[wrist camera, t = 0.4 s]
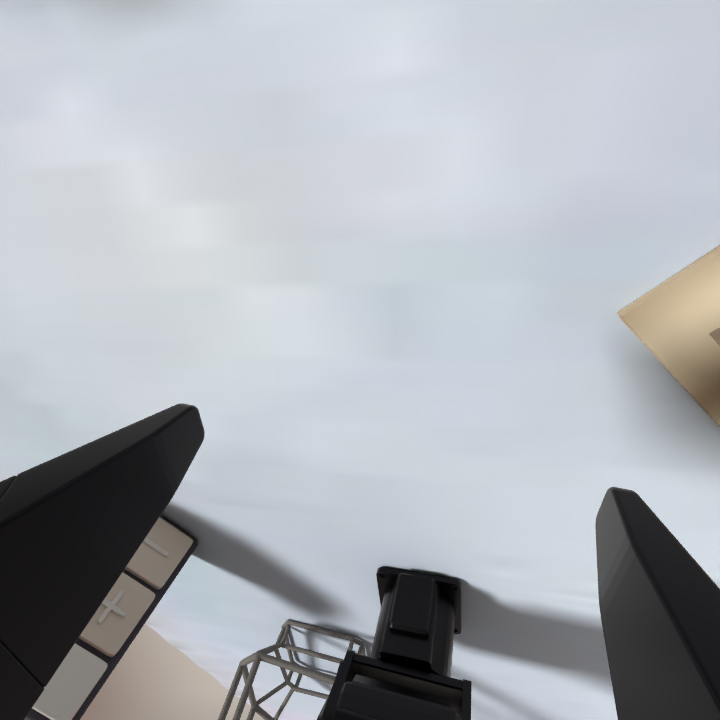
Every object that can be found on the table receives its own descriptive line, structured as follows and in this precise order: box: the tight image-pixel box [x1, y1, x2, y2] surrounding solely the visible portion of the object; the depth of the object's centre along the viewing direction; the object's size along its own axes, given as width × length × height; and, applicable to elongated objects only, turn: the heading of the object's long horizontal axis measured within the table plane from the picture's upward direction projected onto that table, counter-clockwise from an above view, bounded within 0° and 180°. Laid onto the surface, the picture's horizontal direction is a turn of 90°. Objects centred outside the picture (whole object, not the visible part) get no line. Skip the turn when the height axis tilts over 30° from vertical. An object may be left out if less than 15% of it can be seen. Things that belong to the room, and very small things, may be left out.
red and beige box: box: [24, 515, 197, 720], centre depth 34 cm, size 11×4×15 cm, turn 54°
